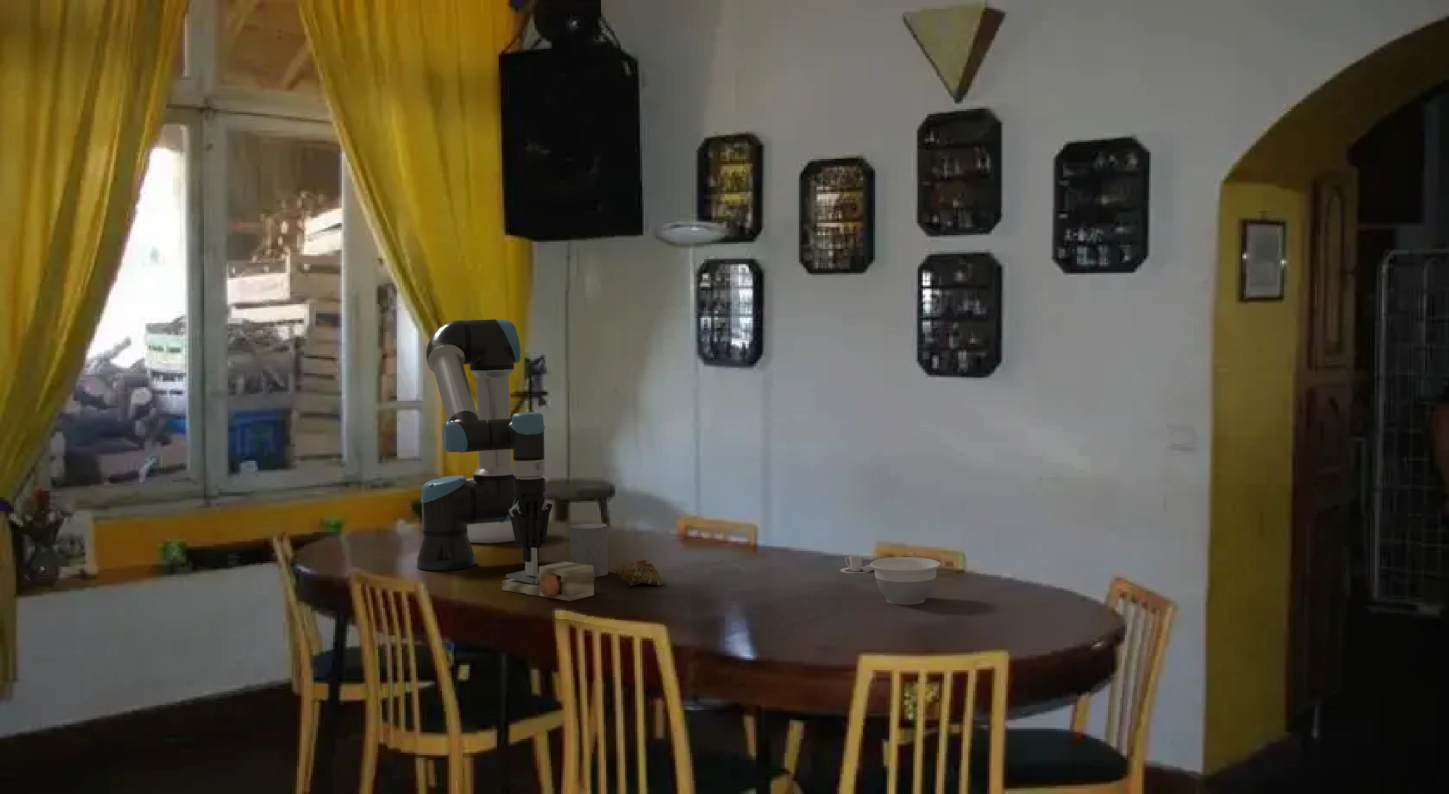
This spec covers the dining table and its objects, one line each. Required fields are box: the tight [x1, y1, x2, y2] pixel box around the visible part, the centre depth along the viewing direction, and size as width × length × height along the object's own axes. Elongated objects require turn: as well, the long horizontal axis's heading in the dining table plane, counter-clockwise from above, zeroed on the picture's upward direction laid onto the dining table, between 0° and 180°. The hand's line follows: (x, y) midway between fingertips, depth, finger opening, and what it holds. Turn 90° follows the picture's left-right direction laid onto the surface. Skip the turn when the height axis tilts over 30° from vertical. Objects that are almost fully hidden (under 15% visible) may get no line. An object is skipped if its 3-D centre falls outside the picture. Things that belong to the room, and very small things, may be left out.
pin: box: [540, 572, 596, 598], centre depth 343 cm, size 5×14×5 cm, turn 141°
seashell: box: [614, 559, 664, 587], centre depth 353 cm, size 9×8×10 cm
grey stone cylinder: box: [568, 522, 609, 578], centre depth 369 cm, size 10×10×12 cm
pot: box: [466, 477, 515, 544], centre depth 429 cm, size 26×24×17 cm
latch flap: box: [505, 570, 539, 585], centre depth 349 cm, size 11×7×1 cm, turn 51°
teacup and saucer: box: [840, 554, 875, 574], centre depth 366 cm, size 9×8×4 cm
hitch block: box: [501, 561, 595, 602], centre depth 346 cm, size 23×8×7 cm, turn 51°
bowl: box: [869, 556, 942, 606], centre depth 329 cm, size 16×16×9 cm
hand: (531, 574), depth 349 cm, fingers closed
